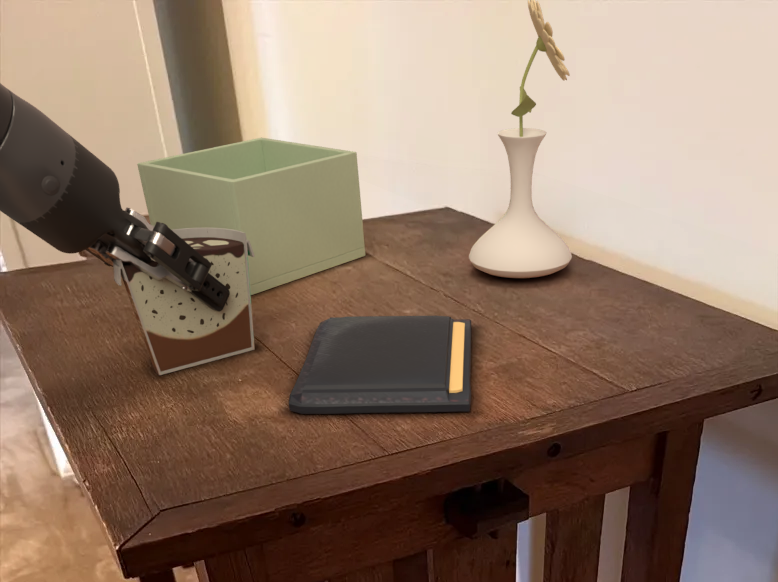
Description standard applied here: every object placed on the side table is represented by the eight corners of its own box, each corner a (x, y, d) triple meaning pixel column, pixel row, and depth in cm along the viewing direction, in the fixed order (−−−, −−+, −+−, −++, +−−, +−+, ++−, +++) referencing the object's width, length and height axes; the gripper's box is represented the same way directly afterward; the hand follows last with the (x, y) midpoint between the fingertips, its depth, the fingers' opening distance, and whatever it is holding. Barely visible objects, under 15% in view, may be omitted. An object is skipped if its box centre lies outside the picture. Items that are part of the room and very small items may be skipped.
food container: (237, 328, 89) (218, 218, 83) (269, 345, 85) (251, 231, 79) (115, 359, 83) (84, 243, 77) (143, 379, 79) (112, 259, 73)
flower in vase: (557, 291, 96) (568, 3, 81) (455, 282, 99) (447, 2, 84) (584, 257, 106) (599, -6, 90) (490, 250, 109) (489, -7, 93)
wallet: (319, 307, 88) (477, 307, 87) (321, 327, 89) (478, 327, 88) (276, 392, 72) (469, 392, 71) (280, 415, 73) (470, 415, 73)
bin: (160, 269, 104) (136, 163, 97) (275, 235, 115) (261, 137, 108) (251, 295, 97) (232, 181, 90) (365, 255, 108) (356, 151, 101)
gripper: (115, 137, 64) (268, 269, 78) (5, 118, 71) (165, 243, 85) (69, 234, 64) (231, 349, 78) (-36, 206, 71) (131, 316, 85)
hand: (196, 293), depth 82 cm, fingers closed on food container, 6 cm apart
